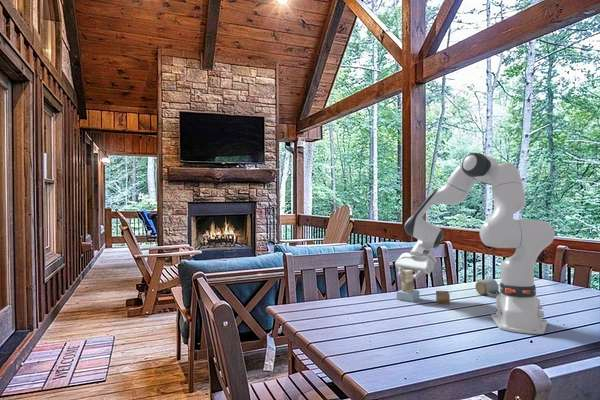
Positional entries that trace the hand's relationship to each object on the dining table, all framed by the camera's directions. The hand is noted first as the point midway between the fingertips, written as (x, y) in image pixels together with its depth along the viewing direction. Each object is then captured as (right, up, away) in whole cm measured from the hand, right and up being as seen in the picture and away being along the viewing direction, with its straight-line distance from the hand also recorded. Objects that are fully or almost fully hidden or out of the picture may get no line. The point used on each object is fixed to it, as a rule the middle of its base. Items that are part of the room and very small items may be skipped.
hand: (406, 276), depth 180 cm
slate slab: (+1, -11, 0) cm, 11 cm away
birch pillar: (+1, -7, 0) cm, 7 cm away
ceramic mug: (+42, -10, +4) cm, 43 cm away
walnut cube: (+14, -10, -9) cm, 20 cm away
